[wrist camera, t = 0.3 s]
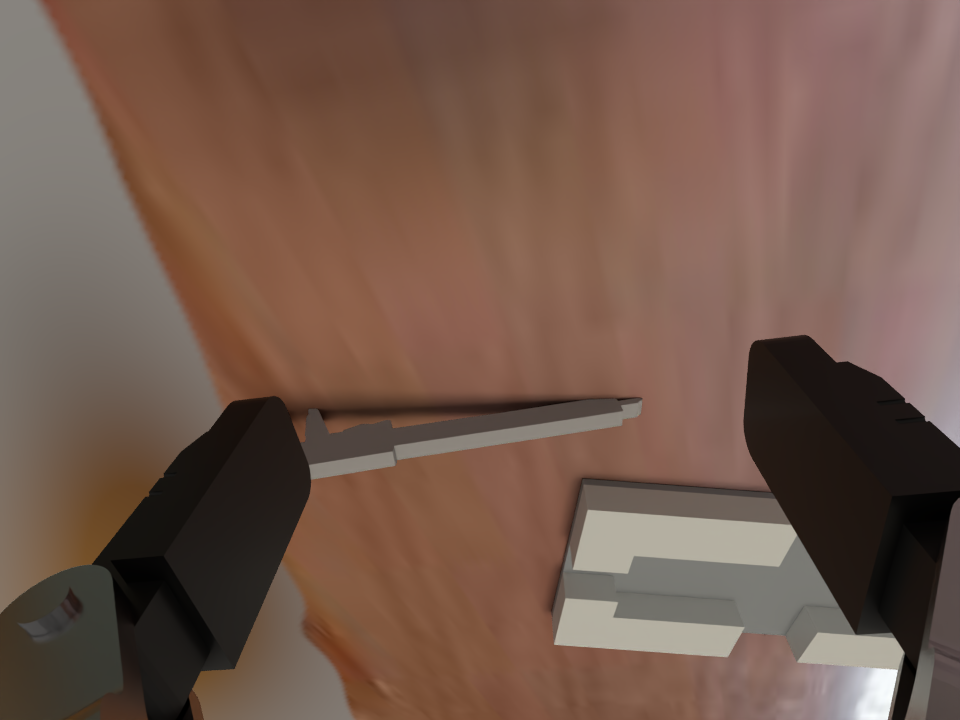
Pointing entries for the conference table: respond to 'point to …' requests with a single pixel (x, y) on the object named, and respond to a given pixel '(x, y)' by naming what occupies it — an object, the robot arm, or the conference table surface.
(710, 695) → the conference table surface
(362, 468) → the caliper
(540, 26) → the conference table surface
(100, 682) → the robot arm
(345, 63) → the conference table surface
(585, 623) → the case insert
